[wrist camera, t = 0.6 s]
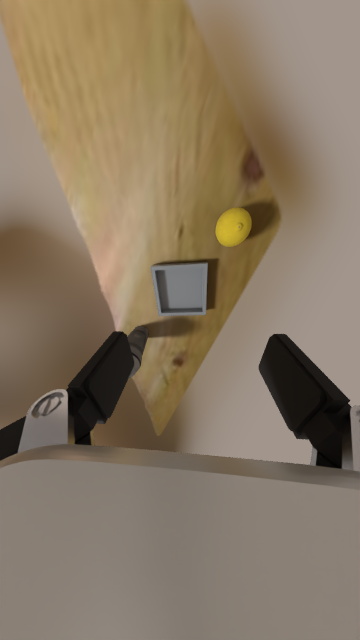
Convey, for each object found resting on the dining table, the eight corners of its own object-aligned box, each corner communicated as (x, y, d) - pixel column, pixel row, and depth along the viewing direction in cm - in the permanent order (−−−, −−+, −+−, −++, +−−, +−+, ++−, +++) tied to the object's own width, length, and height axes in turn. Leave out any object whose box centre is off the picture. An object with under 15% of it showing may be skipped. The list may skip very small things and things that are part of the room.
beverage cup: (142, 318, 39) (104, 381, 22) (157, 336, 42) (134, 403, 25) (124, 328, 41) (76, 392, 24) (139, 344, 44) (106, 411, 27)
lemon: (212, 246, 28) (218, 249, 22) (213, 213, 26) (221, 204, 19) (239, 244, 28) (254, 247, 21) (244, 210, 25) (264, 200, 18)
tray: (153, 264, 31) (150, 266, 29) (206, 261, 30) (207, 263, 28) (160, 311, 37) (158, 315, 35) (205, 310, 36) (205, 314, 34)
